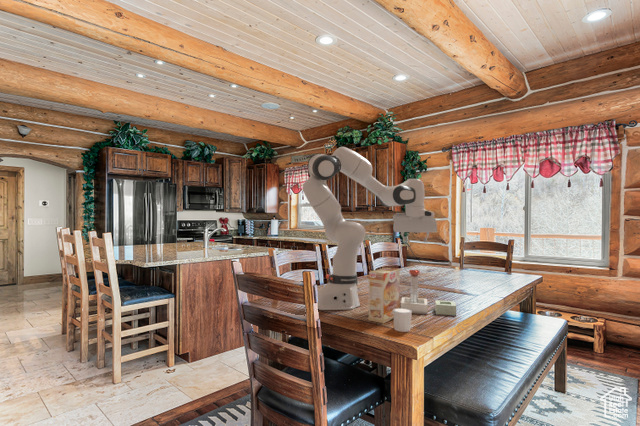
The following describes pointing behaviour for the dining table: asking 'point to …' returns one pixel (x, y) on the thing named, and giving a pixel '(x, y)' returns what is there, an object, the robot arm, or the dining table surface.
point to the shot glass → (402, 319)
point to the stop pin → (414, 285)
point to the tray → (415, 305)
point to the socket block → (445, 307)
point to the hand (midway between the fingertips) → (414, 241)
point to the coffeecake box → (383, 294)
